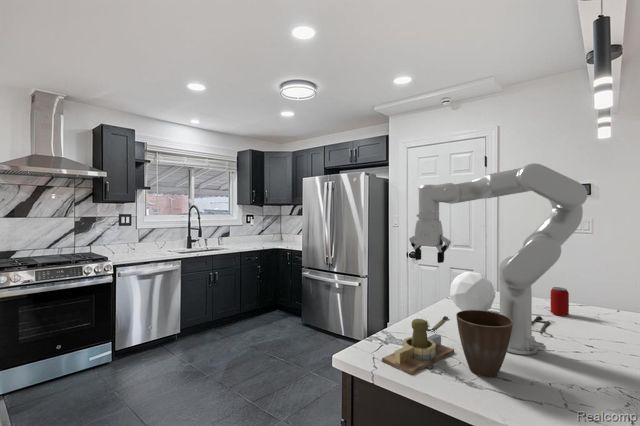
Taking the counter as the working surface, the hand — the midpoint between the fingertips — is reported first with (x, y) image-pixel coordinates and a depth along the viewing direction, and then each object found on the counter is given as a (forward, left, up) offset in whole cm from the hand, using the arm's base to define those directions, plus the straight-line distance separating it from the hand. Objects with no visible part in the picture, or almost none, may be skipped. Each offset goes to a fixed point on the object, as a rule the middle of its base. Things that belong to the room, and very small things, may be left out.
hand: (429, 261), depth 126 cm
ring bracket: (-9, +20, -28) cm, 36 cm away
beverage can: (-24, -68, -28) cm, 78 cm away
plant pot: (-27, +14, -28) cm, 42 cm away
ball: (+3, -40, -28) cm, 49 cm away
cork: (-9, +20, -28) cm, 35 cm away
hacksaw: (-25, -43, -29) cm, 58 cm away
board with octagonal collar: (-9, +20, -28) cm, 36 cm away
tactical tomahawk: (+3, -13, -29) cm, 32 cm away
